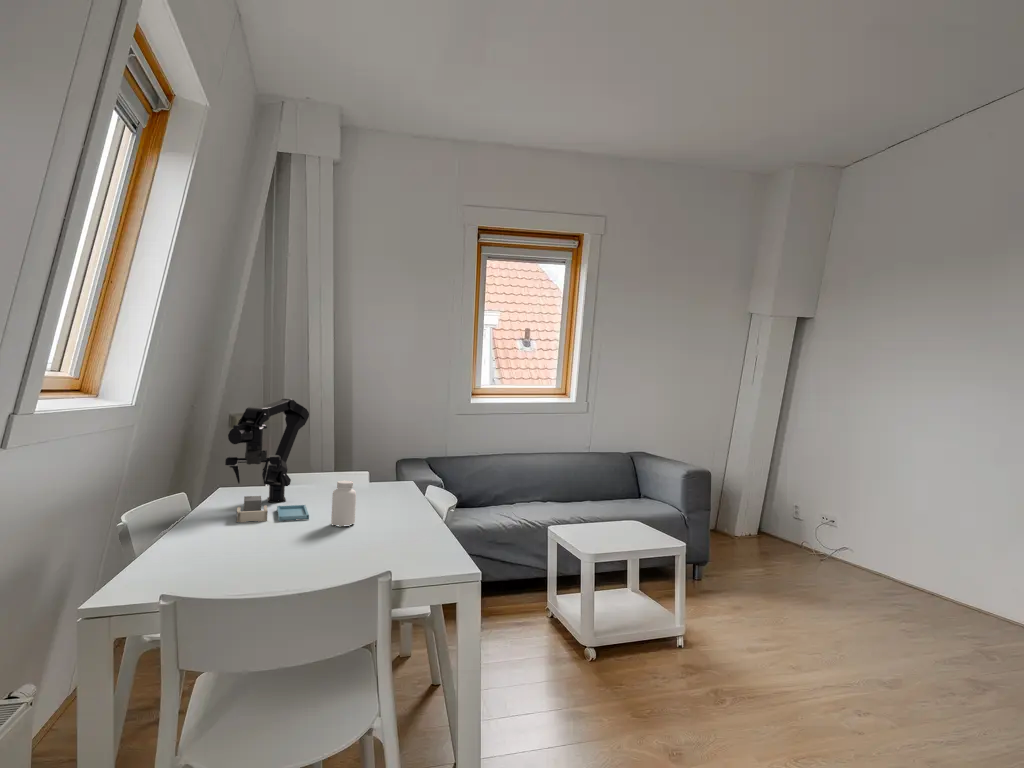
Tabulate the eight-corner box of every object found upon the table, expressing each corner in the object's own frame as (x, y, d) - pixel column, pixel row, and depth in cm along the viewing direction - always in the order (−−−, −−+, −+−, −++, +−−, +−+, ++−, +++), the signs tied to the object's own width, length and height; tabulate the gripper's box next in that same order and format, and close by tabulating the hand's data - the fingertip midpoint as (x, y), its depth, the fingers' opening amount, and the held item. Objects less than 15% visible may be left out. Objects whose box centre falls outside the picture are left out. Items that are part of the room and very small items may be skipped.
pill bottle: (358, 522, 210) (360, 480, 210) (349, 528, 202) (351, 485, 202) (336, 520, 211) (338, 478, 211) (327, 526, 203) (329, 483, 203)
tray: (277, 510, 221) (277, 506, 221) (305, 508, 225) (305, 504, 225) (278, 521, 207) (279, 516, 206) (308, 519, 211) (309, 515, 210)
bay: (237, 516, 210) (237, 506, 209) (266, 515, 213) (266, 505, 213) (236, 522, 202) (237, 512, 202) (267, 521, 206) (267, 511, 206)
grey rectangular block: (243, 508, 221) (244, 493, 221) (259, 507, 224) (260, 492, 223) (243, 516, 210) (244, 501, 210) (260, 515, 213) (261, 500, 212)
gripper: (225, 444, 210) (223, 488, 210) (282, 444, 217) (280, 486, 218) (226, 440, 220) (225, 482, 220) (280, 440, 228) (279, 480, 228)
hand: (252, 483), depth 221 cm, fingers open, 9 cm apart
